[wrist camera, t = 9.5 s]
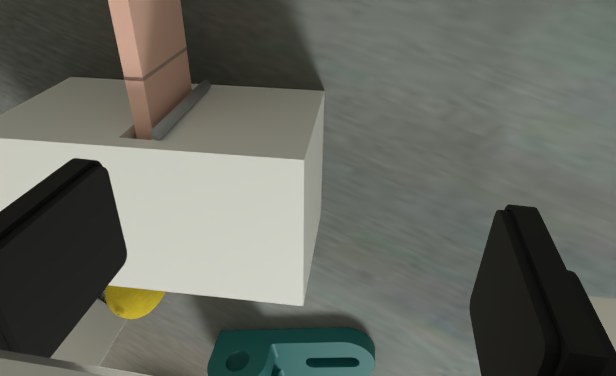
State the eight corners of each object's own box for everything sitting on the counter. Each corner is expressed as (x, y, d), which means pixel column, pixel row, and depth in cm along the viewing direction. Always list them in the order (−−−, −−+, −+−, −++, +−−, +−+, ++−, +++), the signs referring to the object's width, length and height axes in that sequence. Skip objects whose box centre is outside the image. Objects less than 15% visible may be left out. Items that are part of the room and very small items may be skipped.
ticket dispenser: (68, 67, 38) (-44, 123, 28) (324, 81, 36) (304, 147, 26) (102, 194, 45) (23, 276, 35) (320, 212, 43) (303, 306, 33)
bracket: (235, 366, 57) (217, 426, 50) (220, 329, 54) (198, 388, 47) (378, 364, 53) (378, 429, 47) (371, 325, 50) (370, 388, 43)
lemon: (134, 231, 47) (93, 284, 40) (184, 250, 48) (152, 306, 41) (126, 266, 50) (87, 322, 43) (173, 284, 50) (142, 342, 44)
